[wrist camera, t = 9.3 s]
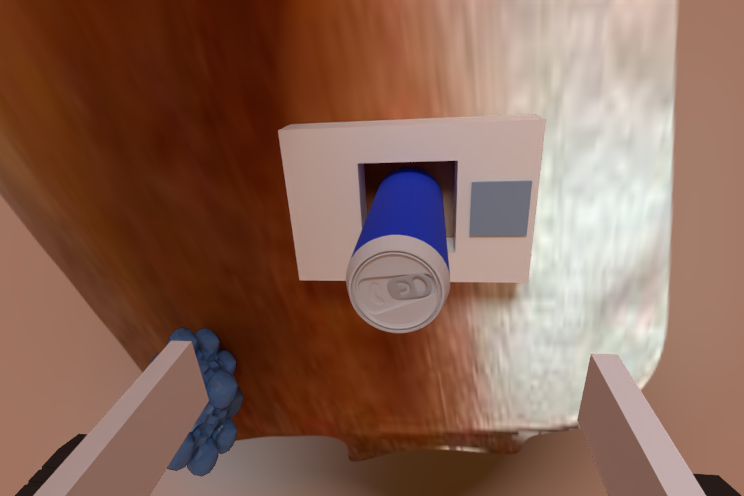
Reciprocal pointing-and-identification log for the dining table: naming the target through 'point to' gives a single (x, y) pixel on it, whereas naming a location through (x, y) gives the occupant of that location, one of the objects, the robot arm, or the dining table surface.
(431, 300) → the beverage can
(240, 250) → the dining table surface
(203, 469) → the grapes
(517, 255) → the socket board
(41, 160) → the dining table surface
